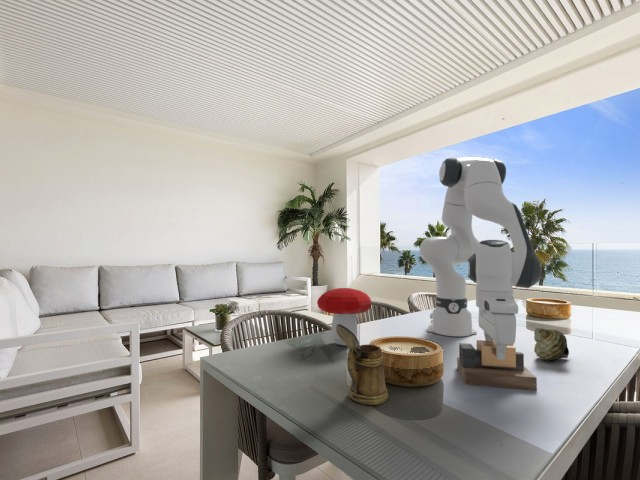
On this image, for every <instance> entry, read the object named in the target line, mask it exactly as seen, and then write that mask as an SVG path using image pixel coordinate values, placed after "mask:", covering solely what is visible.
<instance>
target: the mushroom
mask: <svg viewBox="0 0 640 480" xmlns="http://www.w3.org/2000/svg"><path fill="white" fill-rule="evenodd" d="M316 303H317V307H318V308H319V309H320V310H321V311H323V312H325V313H328V314H333V317H332V321H331V338H332V339H333V341H334V342H335V343H336V344H337V345H340V346H347V345H346V344H345V343H344V342H343V341H342V340H341V338H340V337H339V336H338V334H337V331H336V326H337V325H338V324H340V325H342V326H344V327H346V328H347V329H349V330H350V331H351V332H352V333H353V334H354V335H355V336H356V337H357V338H358V322H357V316H356V315H357V314H358V315H359V314H362V313H366V312H367V311H369V310H370V308H371V304H372V299H371V297H370V296H369V295H368V294H367V293H366V292H364V291H361V290H358V289H354V288H351V287H338V288H333V289H329V290H327V291H325V292H323V293H322V294H321V295H320V296H319V298H317V302H316Z"/></svg>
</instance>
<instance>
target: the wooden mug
mask: <svg viewBox="0 0 640 480" xmlns="http://www.w3.org/2000/svg"><path fill="white" fill-rule="evenodd" d="M336 331H337V334H338V336H339V337H340V338H341V340H342V341H343V342H344V343H345V344H346V345H345V346H347V348H349V350H348V353H347V358H346V359H347V361H346V366H347V371H348V373H349V377H350V378H351V384H350V386H349V391H348V397H349V399H351V400H352V401H354V402H355V403H356V404H360V405H364V406H378V405H382V404H384V403H385V402H387V401H388V399H389V392H388V389H387V387H386V379H385V377H386V376H385V372H384V362H385V361H384V355H383V353H382V348H381V347H380V346H379V345H376V344H375V345H374V344H361V345H360V341H359V340H358V336H357V337H356V336H355V335H354V334H353V333H352V332H351V331H350V330H349V329H347V328H346V327H344V326H342V325H340V324H338V325H337V326H336Z"/></svg>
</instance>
